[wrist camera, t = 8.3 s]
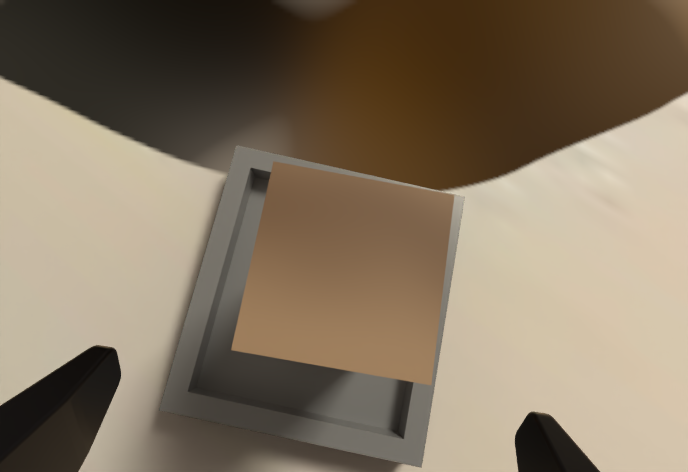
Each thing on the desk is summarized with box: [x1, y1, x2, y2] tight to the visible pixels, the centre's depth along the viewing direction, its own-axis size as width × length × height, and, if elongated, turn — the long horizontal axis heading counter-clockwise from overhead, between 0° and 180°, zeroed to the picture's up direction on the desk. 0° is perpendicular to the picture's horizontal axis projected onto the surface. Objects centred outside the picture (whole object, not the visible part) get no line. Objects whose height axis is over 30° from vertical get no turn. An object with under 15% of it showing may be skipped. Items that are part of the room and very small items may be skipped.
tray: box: [159, 145, 465, 468], centre depth 21 cm, size 13×12×2 cm
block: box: [231, 161, 454, 385], centre depth 16 cm, size 4×4×12 cm
